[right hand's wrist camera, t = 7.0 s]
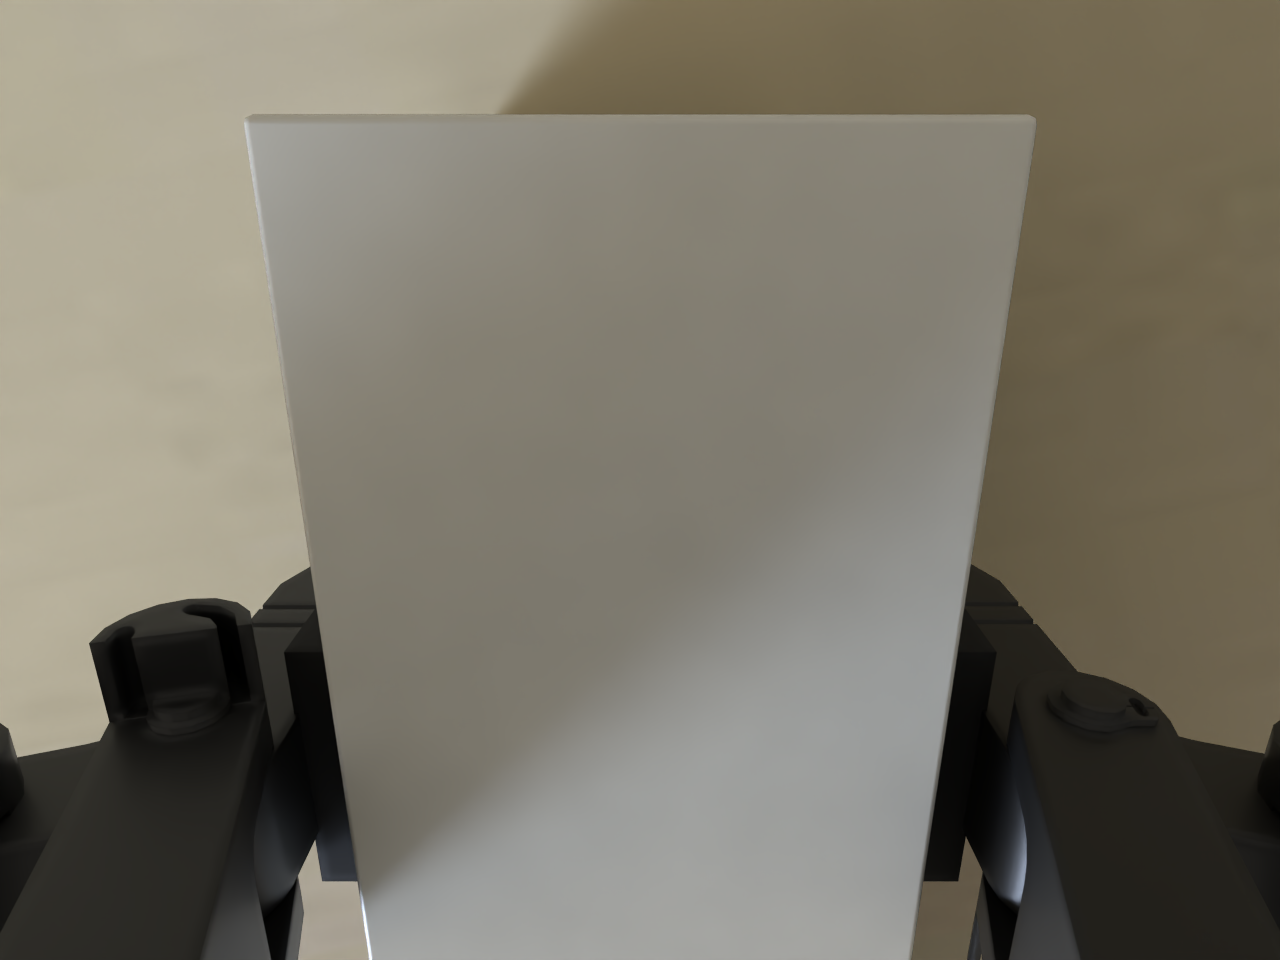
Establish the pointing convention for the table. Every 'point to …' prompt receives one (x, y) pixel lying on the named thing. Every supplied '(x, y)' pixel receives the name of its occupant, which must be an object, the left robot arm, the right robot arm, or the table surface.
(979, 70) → the table surface
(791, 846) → the beam
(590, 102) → the table surface
